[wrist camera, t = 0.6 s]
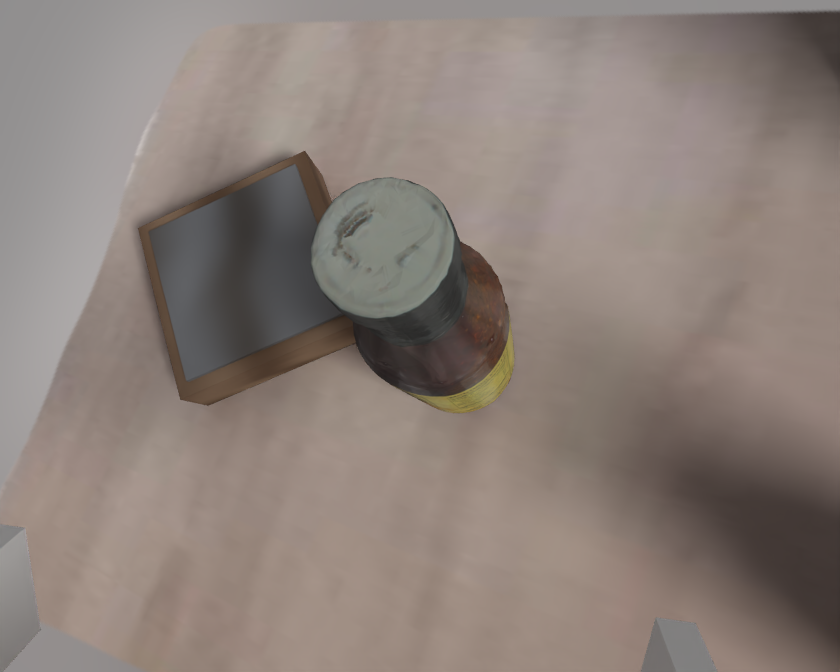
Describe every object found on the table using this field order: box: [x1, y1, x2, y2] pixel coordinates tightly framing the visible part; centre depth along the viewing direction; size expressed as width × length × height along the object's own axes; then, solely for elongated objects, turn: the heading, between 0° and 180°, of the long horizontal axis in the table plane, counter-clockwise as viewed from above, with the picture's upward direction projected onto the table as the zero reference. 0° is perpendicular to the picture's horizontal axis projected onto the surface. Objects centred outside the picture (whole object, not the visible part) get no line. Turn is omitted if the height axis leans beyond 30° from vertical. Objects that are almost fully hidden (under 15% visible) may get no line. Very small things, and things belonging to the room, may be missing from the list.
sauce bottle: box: [311, 177, 514, 413], centre depth 25 cm, size 7×6×20 cm
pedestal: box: [138, 151, 356, 406], centre depth 37 cm, size 12×12×3 cm
